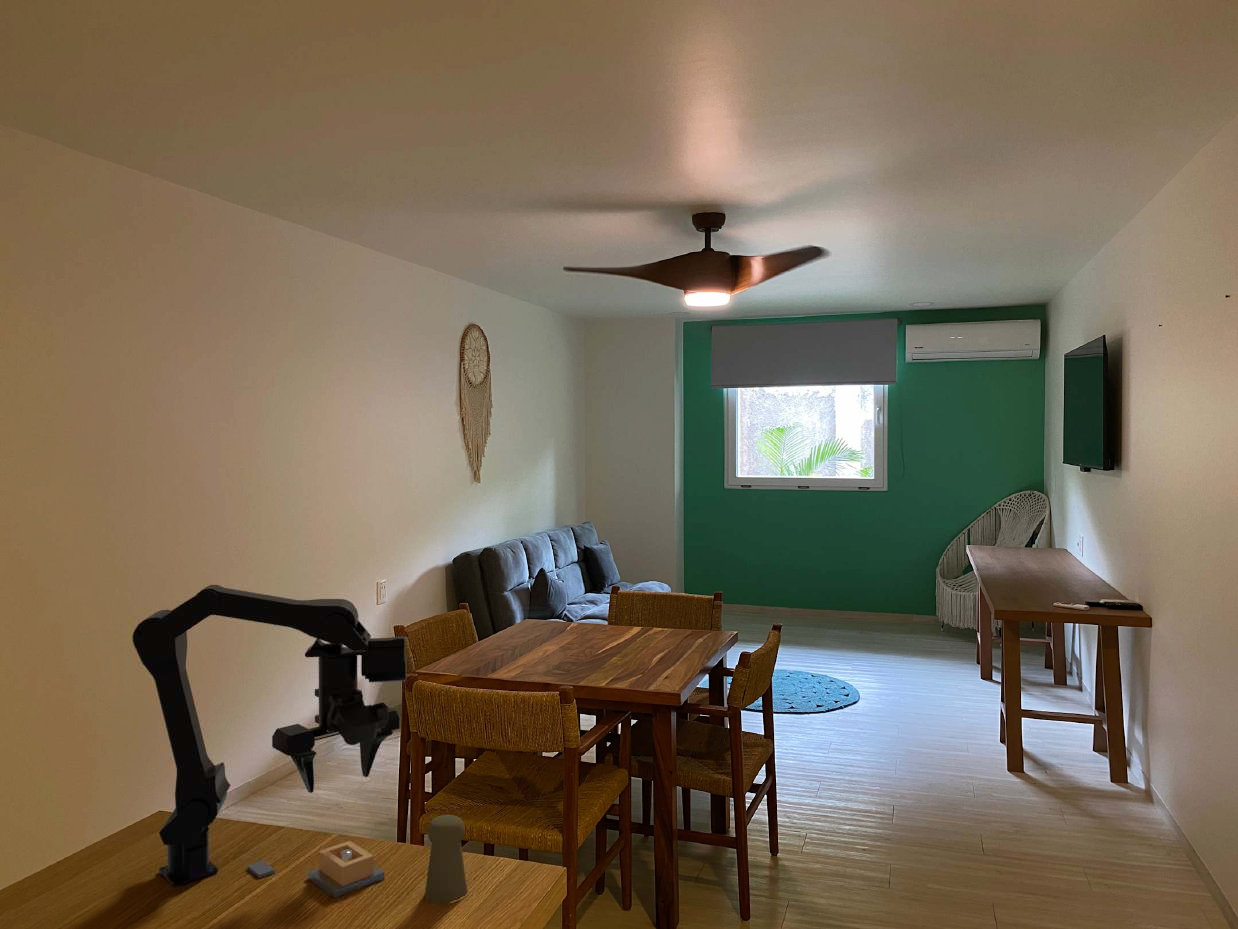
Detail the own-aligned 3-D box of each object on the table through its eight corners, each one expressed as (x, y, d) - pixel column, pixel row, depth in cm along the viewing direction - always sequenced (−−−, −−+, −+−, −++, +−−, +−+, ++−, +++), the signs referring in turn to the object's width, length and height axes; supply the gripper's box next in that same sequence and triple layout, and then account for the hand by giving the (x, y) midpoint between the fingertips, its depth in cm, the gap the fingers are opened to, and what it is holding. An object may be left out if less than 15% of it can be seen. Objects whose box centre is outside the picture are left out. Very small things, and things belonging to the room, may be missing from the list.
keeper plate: (308, 878, 139) (308, 851, 139) (357, 860, 144) (357, 835, 144) (334, 897, 133) (334, 870, 133) (384, 878, 139) (384, 852, 139)
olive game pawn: (458, 906, 131) (458, 829, 131) (417, 902, 132) (417, 825, 132) (473, 886, 137) (473, 811, 136) (434, 881, 138) (434, 808, 138)
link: (319, 869, 139) (318, 851, 139) (349, 859, 143) (349, 841, 143) (342, 886, 134) (342, 867, 134) (373, 874, 138) (373, 856, 138)
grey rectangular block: (247, 869, 141) (247, 866, 141) (263, 864, 143) (263, 860, 143) (259, 878, 139) (259, 875, 139) (274, 873, 140) (274, 869, 140)
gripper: (305, 707, 131) (306, 817, 132) (419, 682, 144) (419, 782, 145) (270, 691, 139) (270, 795, 139) (381, 669, 152) (381, 763, 153)
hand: (338, 784), depth 144 cm, fingers open, 9 cm apart
